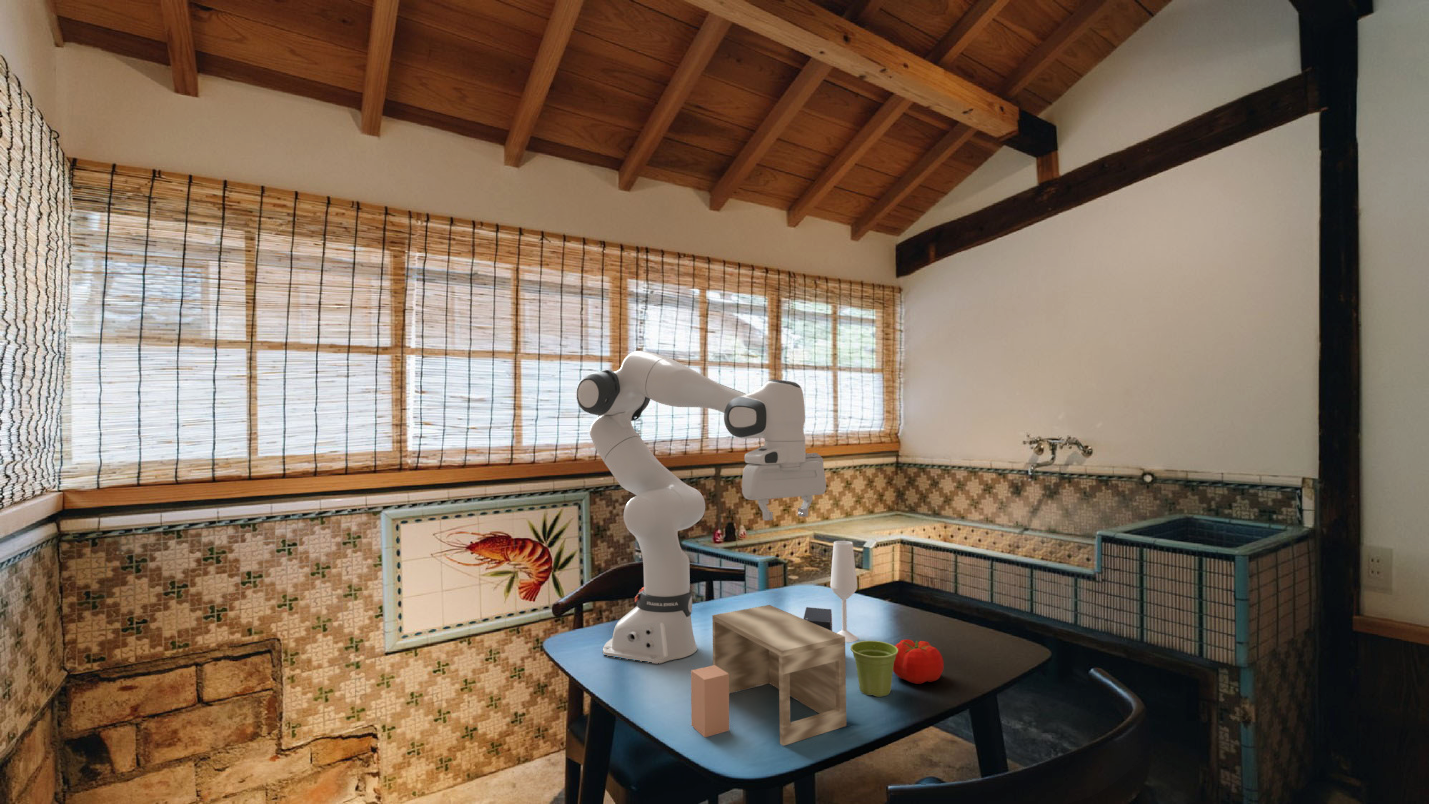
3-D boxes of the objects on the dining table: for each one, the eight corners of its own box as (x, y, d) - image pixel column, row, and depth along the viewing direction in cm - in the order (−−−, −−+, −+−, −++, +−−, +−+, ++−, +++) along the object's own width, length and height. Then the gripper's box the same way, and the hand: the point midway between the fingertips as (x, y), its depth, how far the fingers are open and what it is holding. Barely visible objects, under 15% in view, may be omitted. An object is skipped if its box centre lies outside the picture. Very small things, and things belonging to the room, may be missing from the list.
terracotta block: (704, 737, 115) (704, 679, 115) (691, 726, 119) (691, 670, 120) (729, 730, 118) (728, 674, 118) (715, 719, 122) (714, 665, 122)
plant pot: (870, 704, 128) (869, 659, 128) (842, 686, 136) (841, 644, 136) (908, 696, 131) (907, 652, 132) (879, 679, 140) (878, 638, 140)
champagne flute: (857, 634, 169) (856, 540, 170) (858, 642, 162) (857, 545, 163) (831, 632, 170) (829, 539, 171) (831, 641, 164) (829, 544, 164)
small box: (831, 668, 146) (831, 621, 146) (802, 667, 147) (801, 619, 148) (833, 652, 156) (832, 607, 157) (805, 650, 158) (804, 606, 158)
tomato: (954, 685, 136) (953, 649, 136) (908, 692, 133) (907, 654, 133) (924, 666, 147) (923, 633, 147) (880, 672, 143) (879, 638, 144)
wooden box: (783, 745, 112) (782, 650, 112) (713, 695, 133) (712, 615, 133) (846, 725, 119) (845, 636, 119) (770, 680, 140) (769, 604, 140)
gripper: (813, 451, 150) (814, 512, 150) (737, 455, 140) (738, 520, 140) (831, 453, 145) (832, 516, 145) (754, 456, 135) (754, 524, 134)
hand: (785, 518), depth 142 cm, fingers open, 8 cm apart
